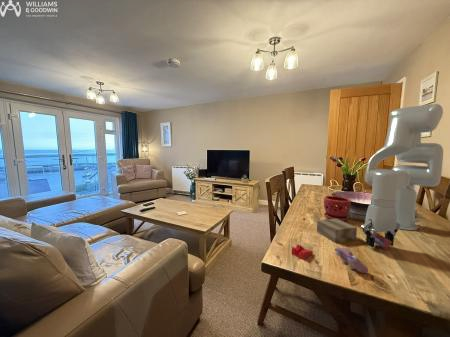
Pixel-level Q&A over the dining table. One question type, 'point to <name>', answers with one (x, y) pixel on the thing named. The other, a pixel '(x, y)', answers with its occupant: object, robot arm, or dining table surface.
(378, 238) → the geometric puzzle
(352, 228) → the walnut block
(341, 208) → the plant pot
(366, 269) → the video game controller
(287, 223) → the dining table surface
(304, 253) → the bracket
